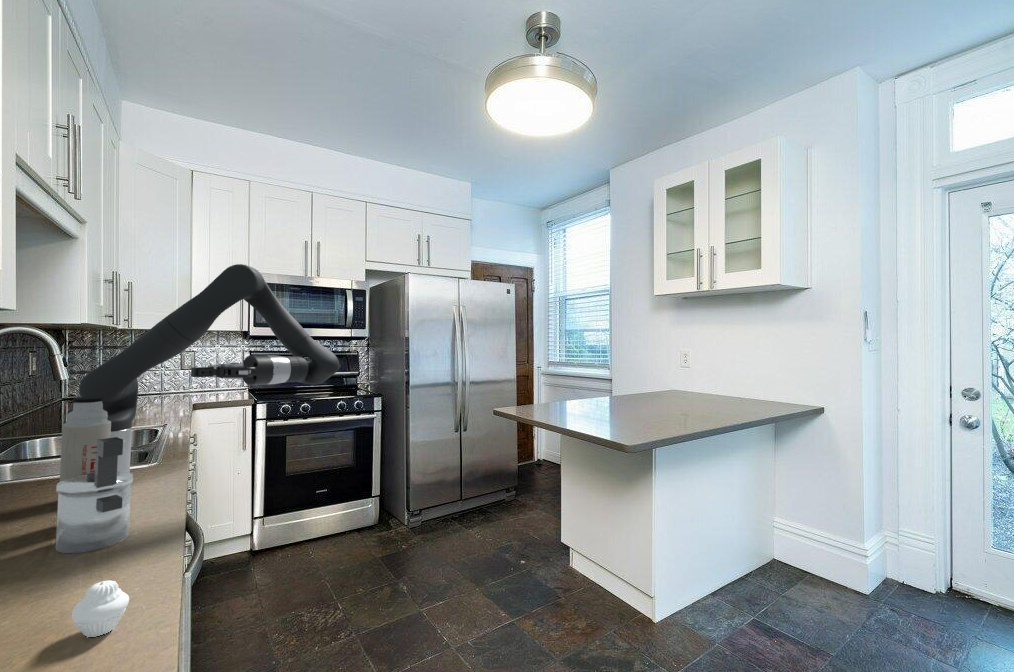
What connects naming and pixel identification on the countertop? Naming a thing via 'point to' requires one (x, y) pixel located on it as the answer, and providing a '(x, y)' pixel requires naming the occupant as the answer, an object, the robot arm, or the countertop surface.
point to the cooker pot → (92, 520)
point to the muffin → (100, 609)
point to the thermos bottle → (83, 436)
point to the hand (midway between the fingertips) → (192, 372)
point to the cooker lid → (99, 472)
